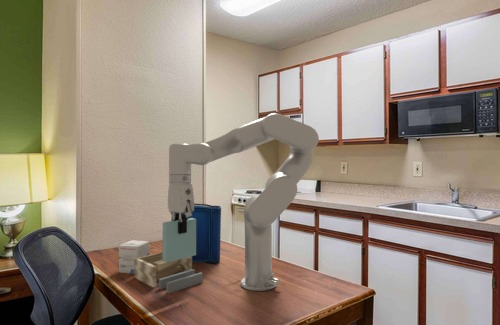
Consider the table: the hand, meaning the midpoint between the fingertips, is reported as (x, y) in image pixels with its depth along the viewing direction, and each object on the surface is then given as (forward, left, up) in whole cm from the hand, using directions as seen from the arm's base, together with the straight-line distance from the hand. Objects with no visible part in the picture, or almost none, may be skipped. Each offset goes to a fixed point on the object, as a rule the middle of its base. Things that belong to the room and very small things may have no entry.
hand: (179, 231), depth 116 cm
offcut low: (+9, 0, -19) cm, 21 cm away
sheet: (0, 0, -9) cm, 9 cm away
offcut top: (+9, 0, -15) cm, 18 cm away
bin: (+12, 0, -20) cm, 23 cm away
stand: (0, 0, -20) cm, 20 cm away
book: (+20, -21, -20) cm, 35 cm away
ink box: (+27, +4, -20) cm, 34 cm away
